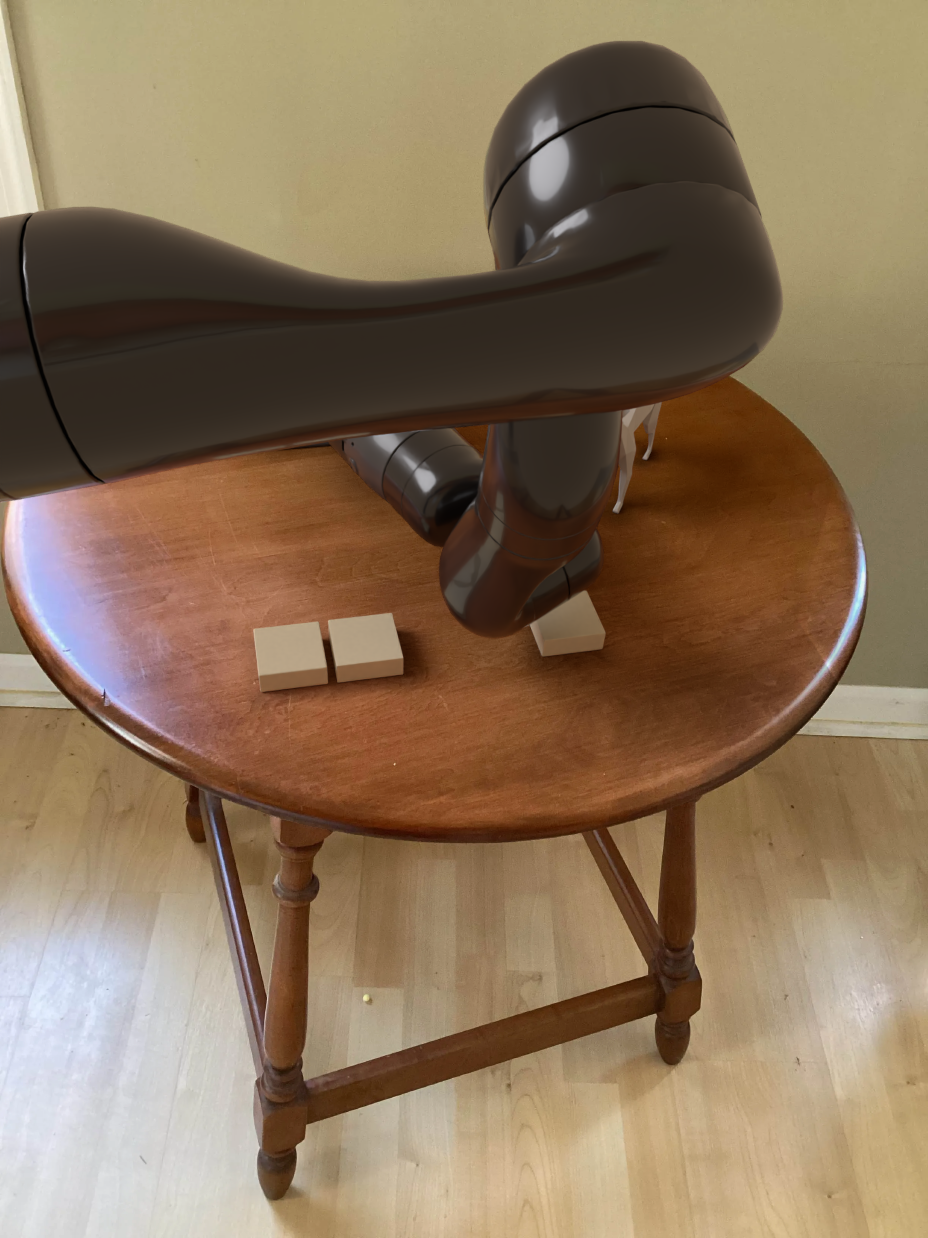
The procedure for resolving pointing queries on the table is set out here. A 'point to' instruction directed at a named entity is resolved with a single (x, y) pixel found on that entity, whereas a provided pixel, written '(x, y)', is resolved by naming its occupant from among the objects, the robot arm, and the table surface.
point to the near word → (393, 645)
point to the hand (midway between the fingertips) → (293, 337)
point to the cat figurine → (628, 447)
